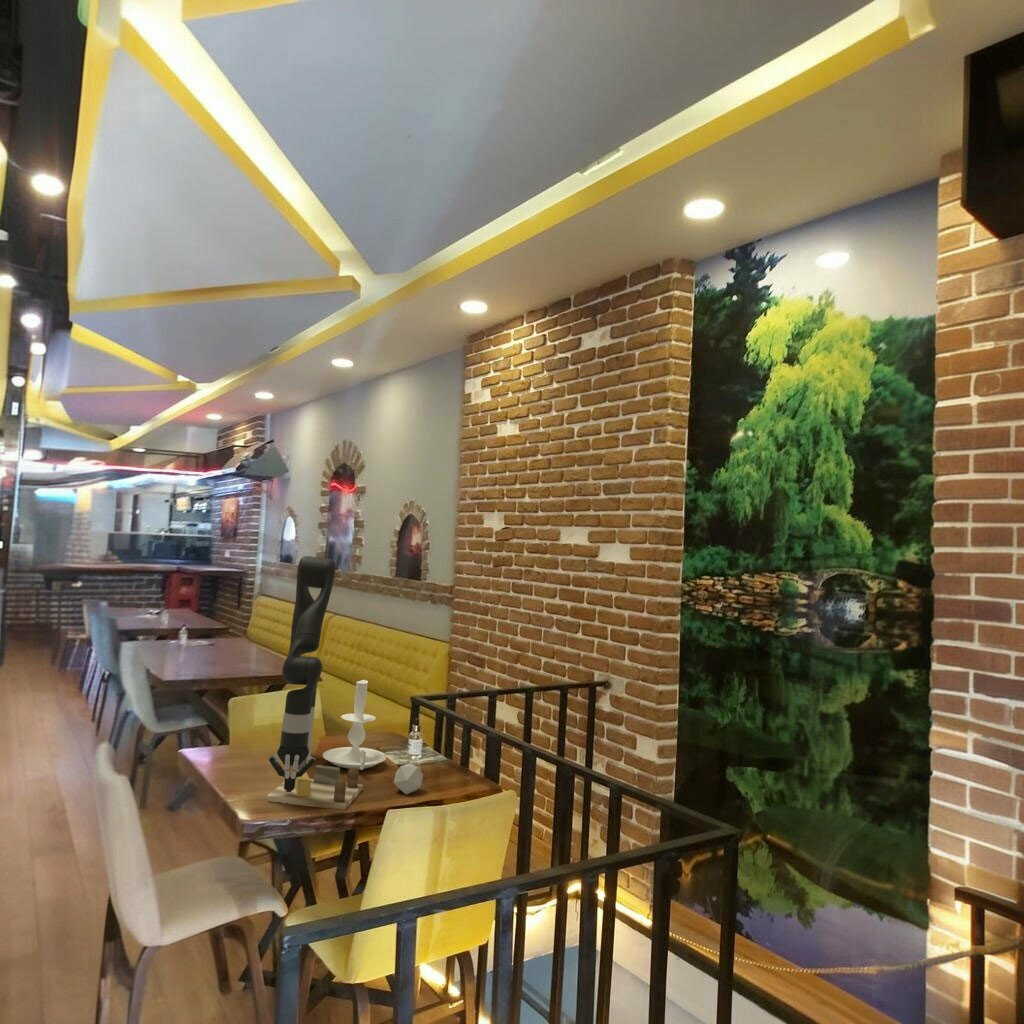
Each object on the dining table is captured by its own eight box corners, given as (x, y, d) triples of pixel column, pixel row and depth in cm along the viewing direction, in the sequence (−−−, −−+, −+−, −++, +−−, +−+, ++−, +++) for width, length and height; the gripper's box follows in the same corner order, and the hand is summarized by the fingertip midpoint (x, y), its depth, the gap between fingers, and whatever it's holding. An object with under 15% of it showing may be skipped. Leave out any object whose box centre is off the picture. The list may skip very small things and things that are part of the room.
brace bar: (291, 781, 221) (294, 759, 221) (302, 781, 222) (304, 759, 222) (298, 796, 209) (300, 773, 209) (309, 796, 210) (311, 772, 210)
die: (425, 797, 224) (430, 765, 230) (407, 787, 219) (412, 755, 225) (404, 801, 228) (409, 770, 234) (386, 791, 222) (391, 759, 229)
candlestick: (329, 780, 230) (338, 687, 232) (317, 757, 253) (325, 673, 254) (395, 778, 238) (403, 688, 239) (377, 755, 261) (385, 674, 262)
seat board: (290, 781, 226) (292, 759, 226) (362, 789, 224) (364, 767, 224) (266, 801, 208) (269, 777, 208) (344, 810, 206) (347, 785, 206)
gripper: (320, 726, 215) (314, 787, 215) (272, 723, 213) (265, 785, 212) (319, 733, 208) (312, 796, 207) (269, 730, 206) (262, 795, 205)
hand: (288, 791), depth 210 cm, fingers closed
